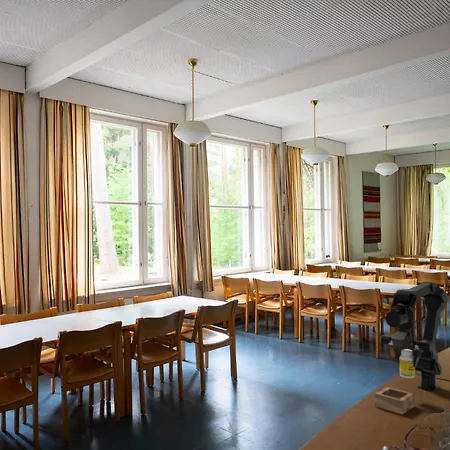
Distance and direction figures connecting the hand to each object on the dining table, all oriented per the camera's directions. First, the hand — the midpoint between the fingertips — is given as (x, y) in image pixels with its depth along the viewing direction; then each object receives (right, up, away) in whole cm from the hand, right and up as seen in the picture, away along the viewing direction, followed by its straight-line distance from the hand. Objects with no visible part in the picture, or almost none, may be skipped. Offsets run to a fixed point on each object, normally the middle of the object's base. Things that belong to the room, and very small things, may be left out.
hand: (407, 365), depth 168 cm
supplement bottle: (0, -4, 0) cm, 4 cm away
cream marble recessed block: (-8, -12, -8) cm, 16 cm away
